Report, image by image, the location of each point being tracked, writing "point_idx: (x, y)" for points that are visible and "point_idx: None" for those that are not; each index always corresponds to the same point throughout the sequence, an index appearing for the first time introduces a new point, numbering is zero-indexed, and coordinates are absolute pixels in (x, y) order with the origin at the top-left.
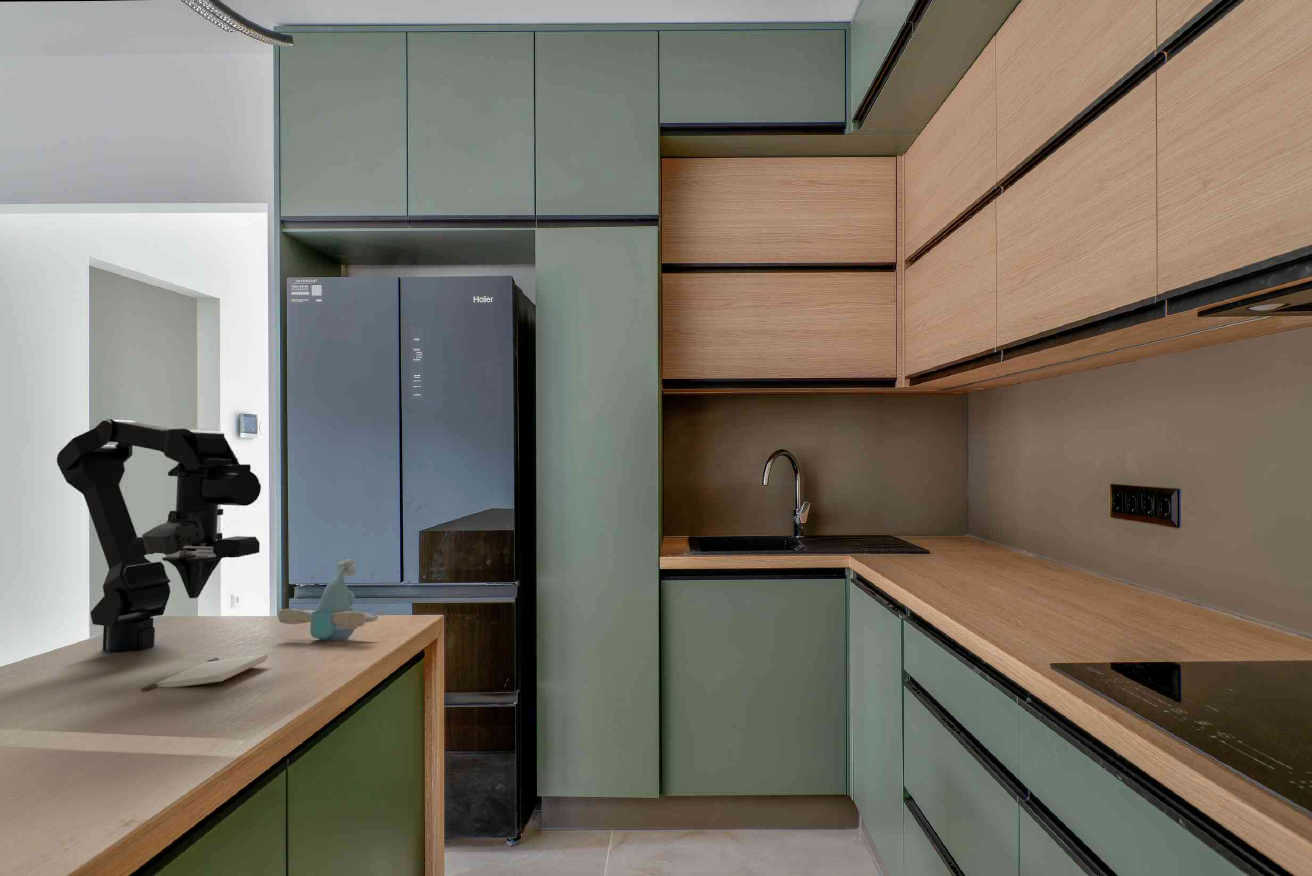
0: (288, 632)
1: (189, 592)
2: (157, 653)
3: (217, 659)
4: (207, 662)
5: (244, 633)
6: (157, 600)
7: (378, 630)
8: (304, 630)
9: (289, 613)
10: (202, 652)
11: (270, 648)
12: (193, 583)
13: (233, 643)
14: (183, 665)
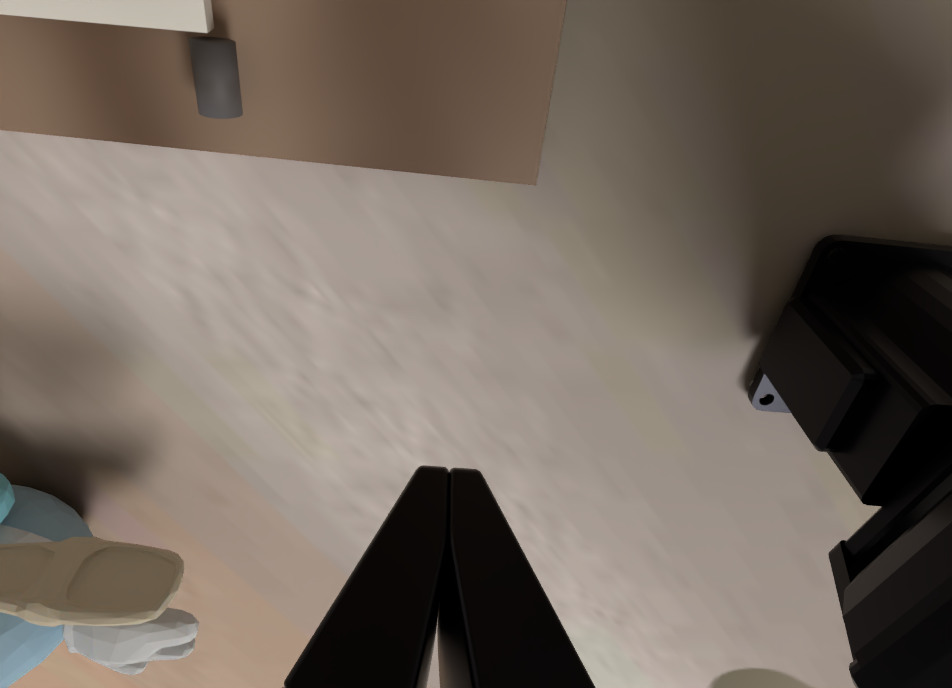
0: None
1: (466, 512)
2: (741, 370)
3: (200, 105)
4: (183, 4)
5: None
6: (899, 581)
7: None
8: (303, 624)
9: (94, 595)
10: (533, 385)
11: (253, 438)
12: (374, 617)
13: None
14: (493, 189)
